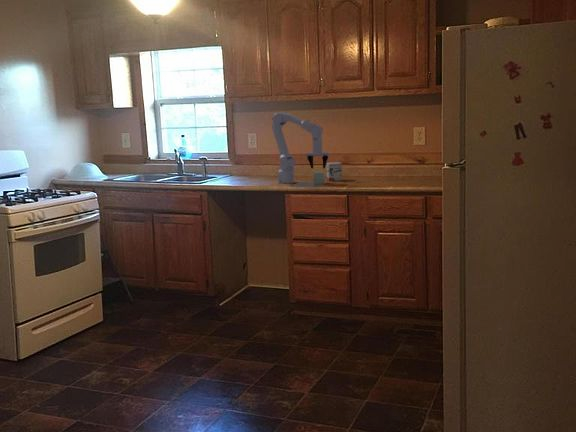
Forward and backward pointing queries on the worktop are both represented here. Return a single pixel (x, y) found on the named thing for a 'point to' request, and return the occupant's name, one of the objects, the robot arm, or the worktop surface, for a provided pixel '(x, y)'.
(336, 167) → the ink box
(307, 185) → the board
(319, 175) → the pale green cube
